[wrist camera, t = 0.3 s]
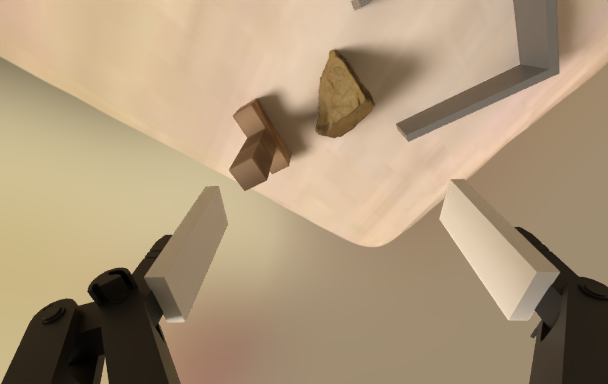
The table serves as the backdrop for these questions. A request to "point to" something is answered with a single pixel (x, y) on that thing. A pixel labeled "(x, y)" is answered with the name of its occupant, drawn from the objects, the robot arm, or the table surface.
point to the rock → (341, 98)
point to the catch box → (533, 69)
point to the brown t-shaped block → (257, 147)
